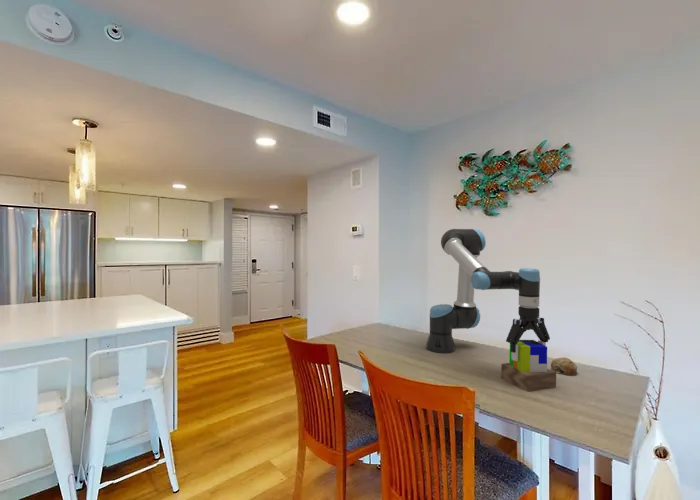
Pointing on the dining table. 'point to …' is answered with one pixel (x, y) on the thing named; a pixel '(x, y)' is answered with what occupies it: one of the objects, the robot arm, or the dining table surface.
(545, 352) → the puzzle toy
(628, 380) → the dining table surface
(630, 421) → the dining table surface
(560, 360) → the bread roll
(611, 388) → the dining table surface
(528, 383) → the walnut plinth
